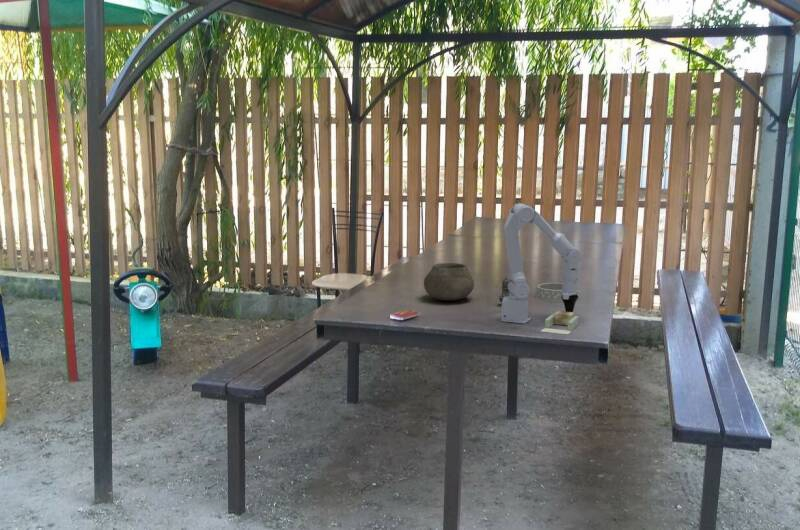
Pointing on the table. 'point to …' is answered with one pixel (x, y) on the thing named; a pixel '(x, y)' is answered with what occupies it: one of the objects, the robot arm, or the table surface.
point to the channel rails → (571, 323)
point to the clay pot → (449, 281)
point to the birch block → (563, 317)
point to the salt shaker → (504, 290)
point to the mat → (555, 331)
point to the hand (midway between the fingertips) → (569, 314)
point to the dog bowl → (550, 292)
